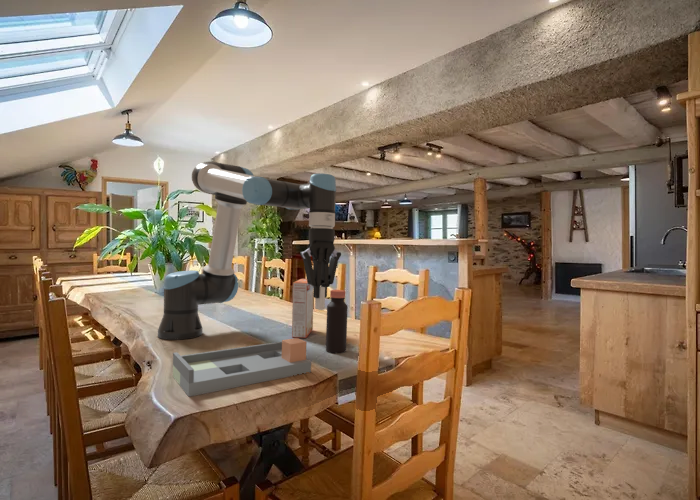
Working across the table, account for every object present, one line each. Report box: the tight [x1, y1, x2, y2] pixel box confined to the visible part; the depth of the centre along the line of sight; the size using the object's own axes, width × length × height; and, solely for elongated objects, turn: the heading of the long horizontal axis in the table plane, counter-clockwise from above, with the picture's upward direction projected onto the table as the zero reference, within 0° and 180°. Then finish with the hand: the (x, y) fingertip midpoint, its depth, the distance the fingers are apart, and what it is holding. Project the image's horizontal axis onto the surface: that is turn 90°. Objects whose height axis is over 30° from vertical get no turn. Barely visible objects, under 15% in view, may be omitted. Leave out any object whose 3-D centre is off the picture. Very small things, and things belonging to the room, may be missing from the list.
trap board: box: [172, 341, 312, 397], centre depth 103 cm, size 16×32×6 cm, turn 127°
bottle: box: [325, 289, 349, 354], centre depth 128 cm, size 7×7×20 cm
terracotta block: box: [281, 338, 308, 362], centre depth 108 cm, size 5×5×5 cm
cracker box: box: [291, 278, 314, 339], centre depth 150 cm, size 14×6×21 cm, turn 175°
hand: (319, 309), depth 112 cm, fingers closed
